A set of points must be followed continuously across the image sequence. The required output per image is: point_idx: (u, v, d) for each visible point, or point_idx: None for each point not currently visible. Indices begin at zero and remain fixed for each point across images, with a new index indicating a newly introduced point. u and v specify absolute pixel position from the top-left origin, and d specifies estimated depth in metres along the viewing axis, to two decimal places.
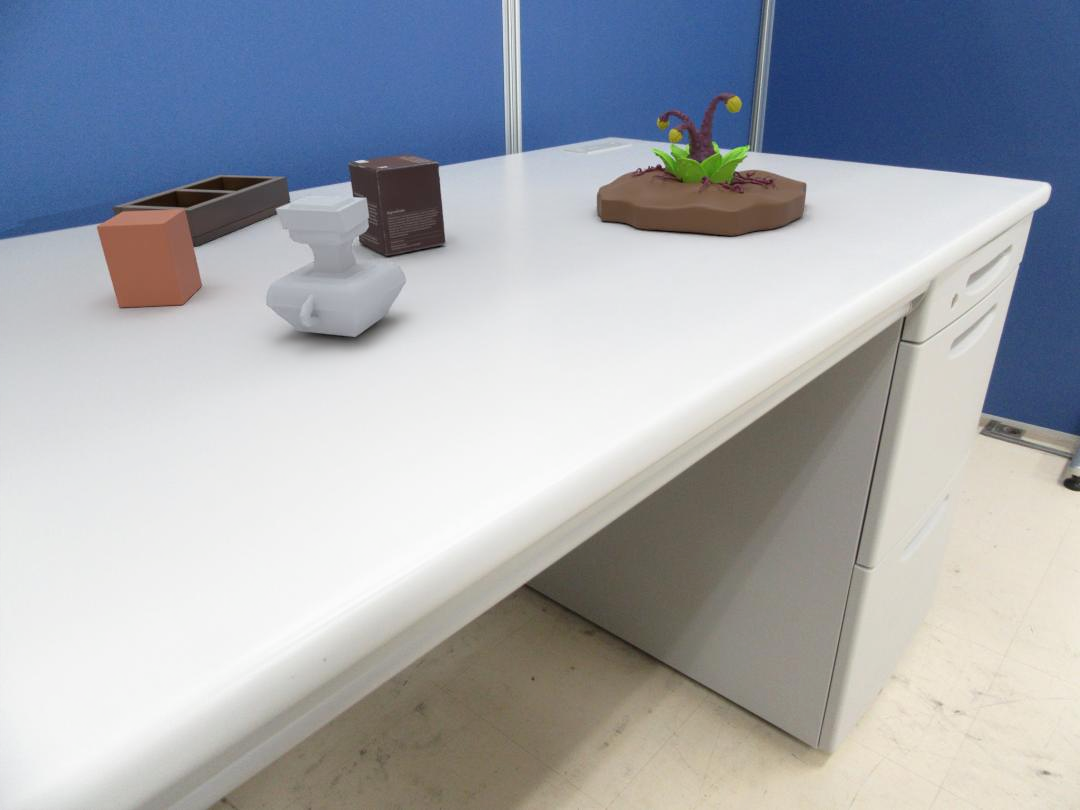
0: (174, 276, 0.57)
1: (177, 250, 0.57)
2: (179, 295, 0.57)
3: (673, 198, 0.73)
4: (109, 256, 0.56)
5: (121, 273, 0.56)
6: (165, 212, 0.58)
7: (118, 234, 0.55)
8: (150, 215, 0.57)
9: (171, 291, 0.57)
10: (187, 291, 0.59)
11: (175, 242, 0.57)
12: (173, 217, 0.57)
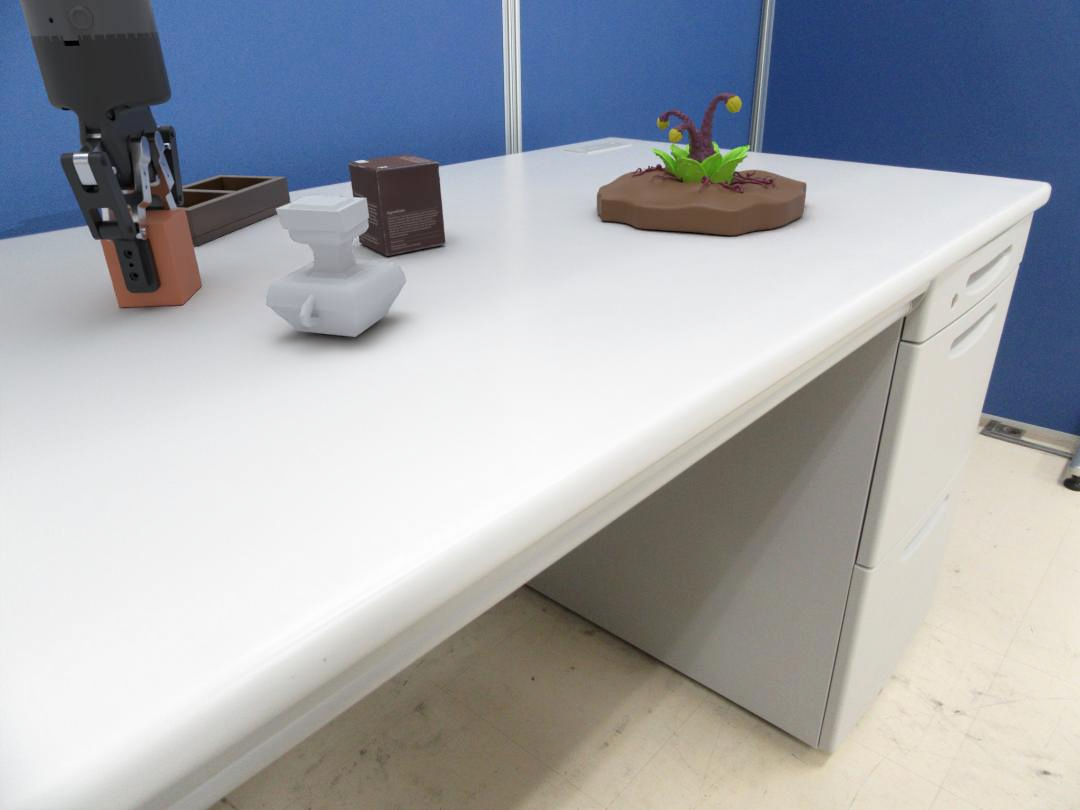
0: (174, 276, 0.57)
1: (177, 250, 0.57)
2: (179, 295, 0.57)
3: (673, 198, 0.73)
4: (109, 256, 0.56)
5: (121, 273, 0.56)
6: (165, 212, 0.58)
7: None
8: (150, 215, 0.57)
9: (171, 291, 0.57)
10: (187, 291, 0.59)
11: (175, 242, 0.57)
12: (173, 217, 0.57)
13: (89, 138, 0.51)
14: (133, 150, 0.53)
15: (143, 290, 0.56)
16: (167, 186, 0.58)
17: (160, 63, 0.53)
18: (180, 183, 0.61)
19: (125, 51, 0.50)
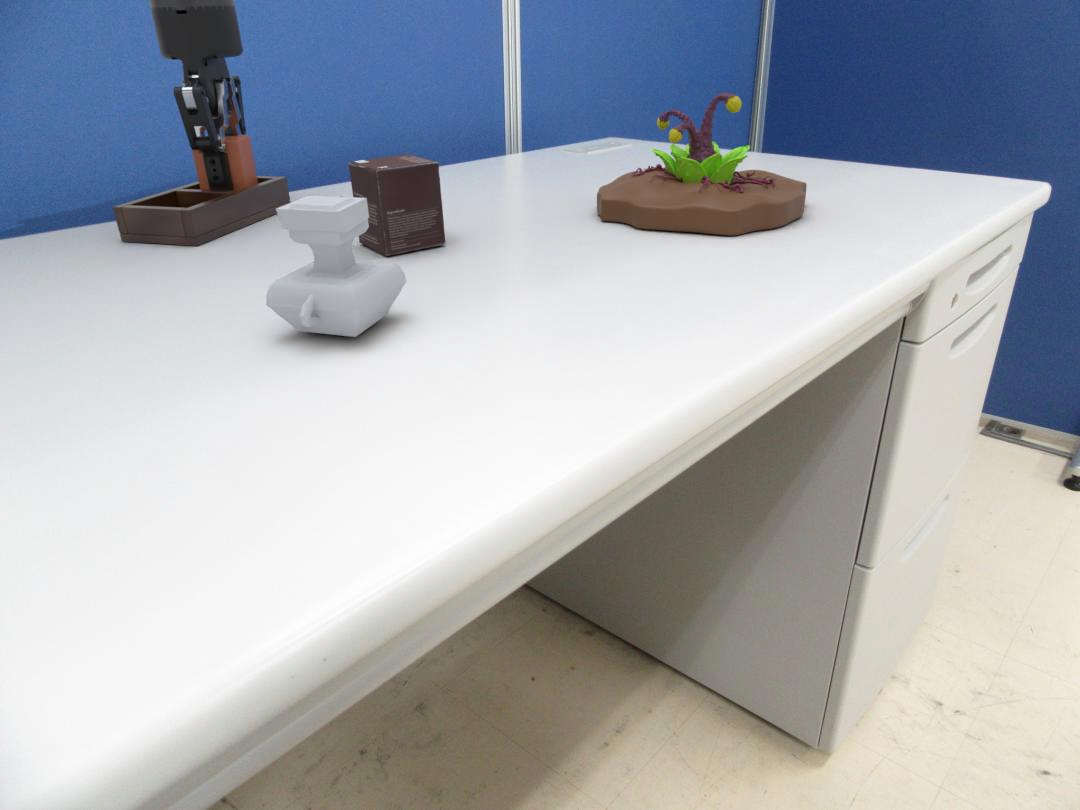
0: (243, 181, 0.80)
1: (245, 163, 0.81)
2: None
3: (673, 198, 0.73)
4: (198, 165, 0.79)
5: (206, 178, 0.80)
6: (236, 136, 0.82)
7: None
8: (226, 138, 0.81)
9: None
10: None
11: (244, 156, 0.80)
12: (242, 139, 0.80)
13: (190, 78, 0.74)
14: (217, 88, 0.76)
15: None
16: (237, 117, 0.81)
17: (237, 27, 0.76)
18: (243, 118, 0.85)
19: (216, 18, 0.73)
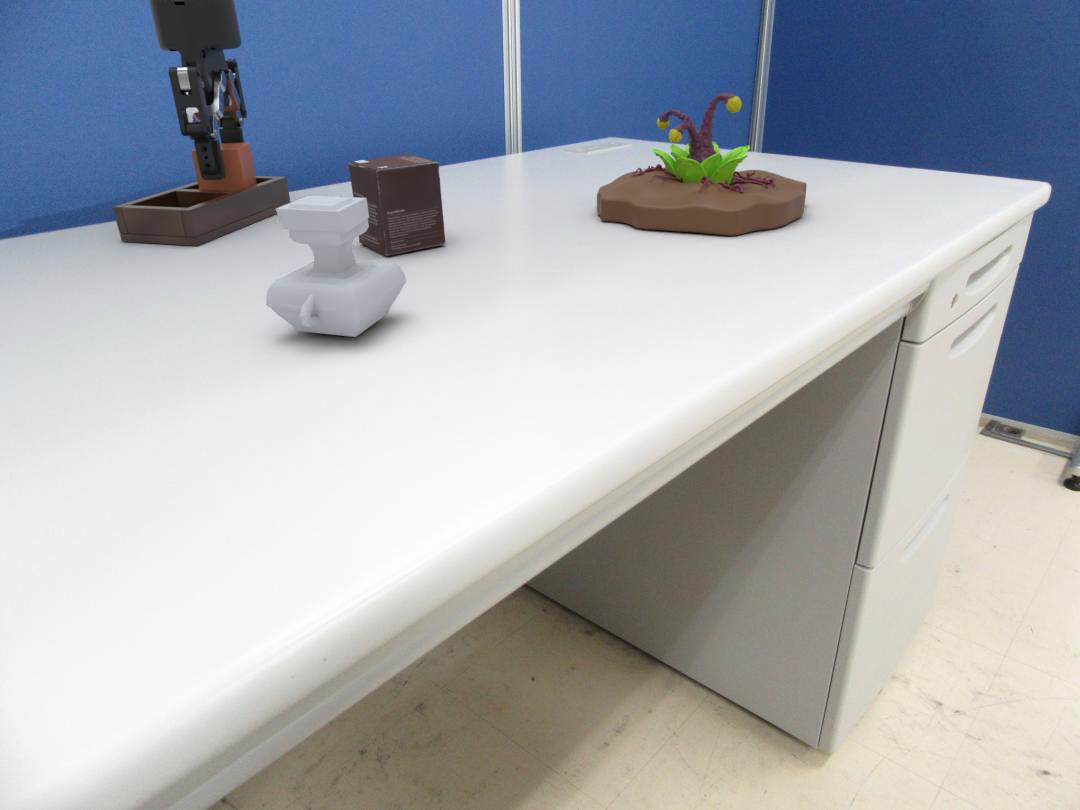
0: None
1: (245, 170, 0.81)
2: None
3: (673, 198, 0.73)
4: (199, 173, 0.79)
5: (206, 185, 0.80)
6: (236, 144, 0.82)
7: None
8: (226, 145, 0.81)
9: None
10: None
11: (244, 164, 0.81)
12: (243, 146, 0.81)
13: None
14: (216, 80, 0.76)
15: (213, 178, 0.78)
16: (237, 106, 0.81)
17: (235, 19, 0.76)
18: (243, 100, 0.85)
19: (214, 9, 0.73)
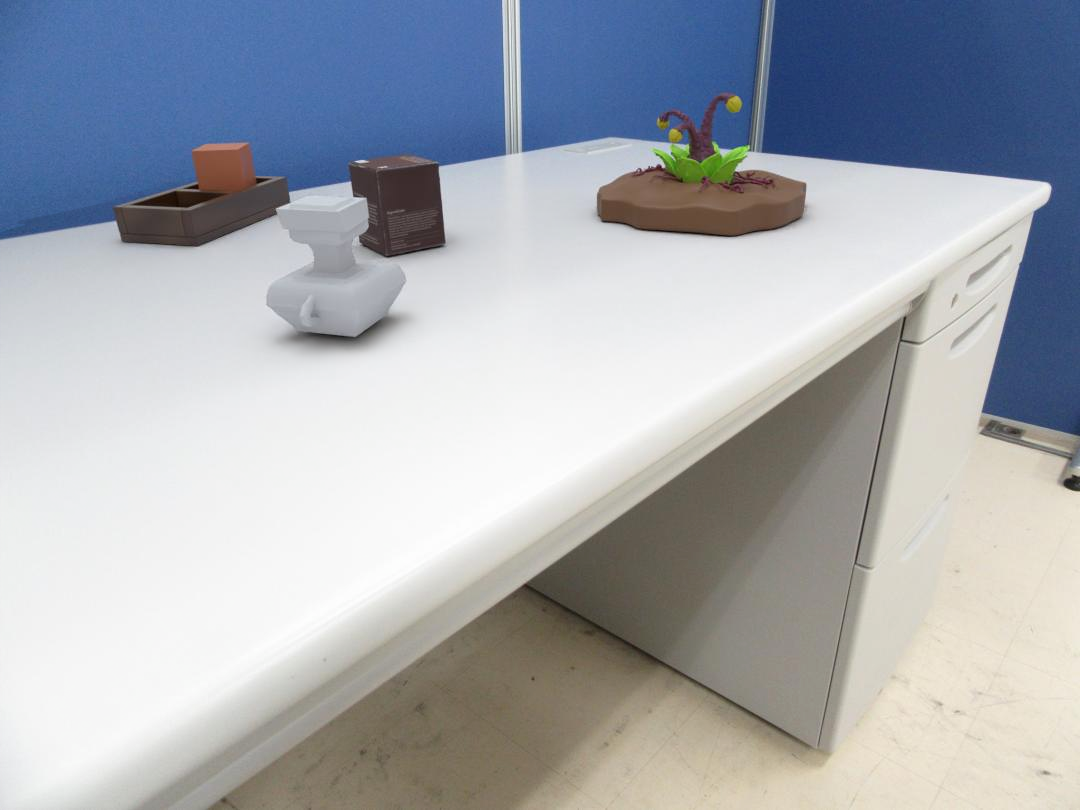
0: None
1: (245, 170, 0.81)
2: None
3: (673, 198, 0.73)
4: (199, 173, 0.79)
5: (206, 185, 0.80)
6: (236, 144, 0.82)
7: (206, 157, 0.79)
8: (226, 145, 0.81)
9: None
10: None
11: (244, 164, 0.81)
12: (243, 146, 0.81)
13: None
14: None
15: None
16: None
17: None
18: None
19: None
